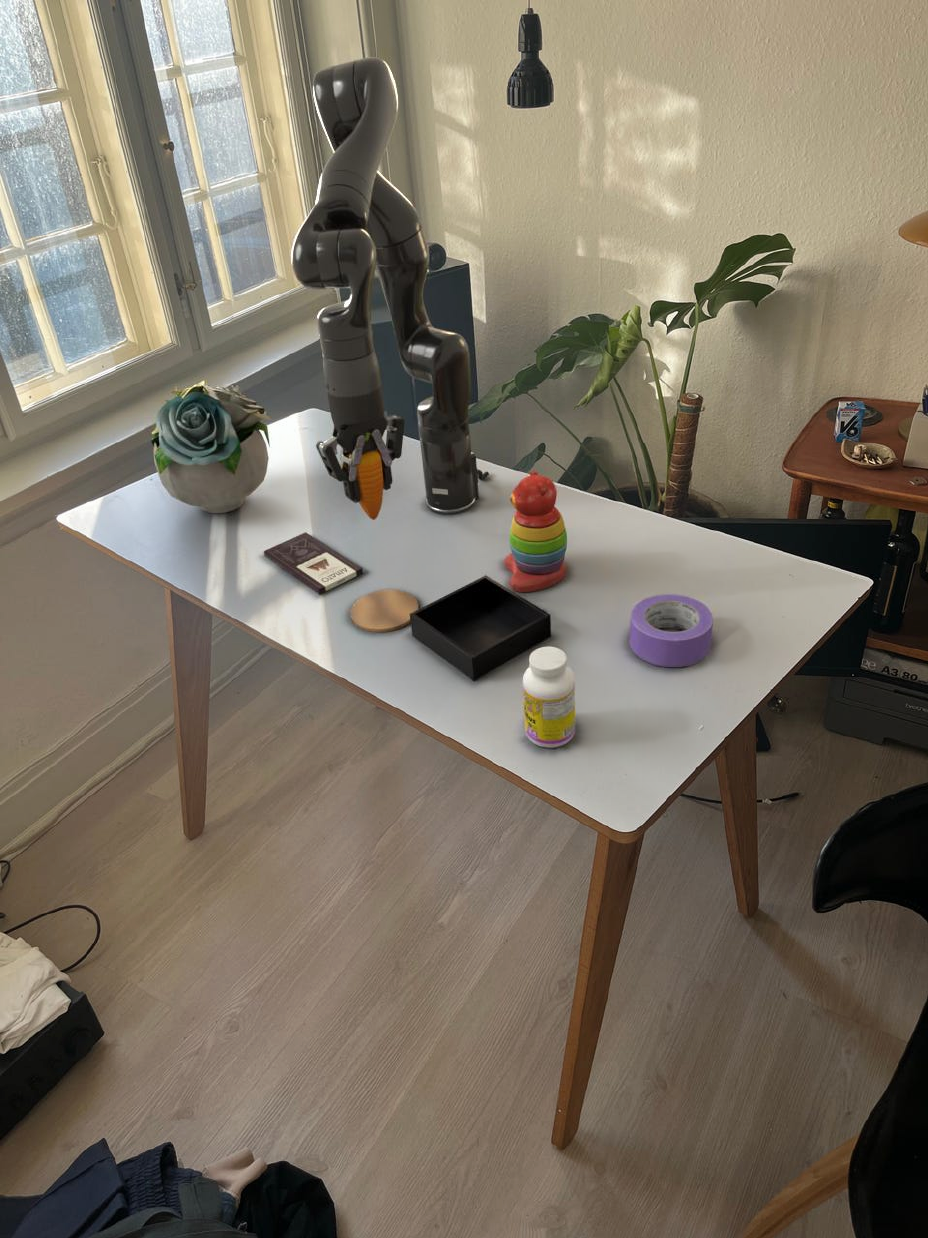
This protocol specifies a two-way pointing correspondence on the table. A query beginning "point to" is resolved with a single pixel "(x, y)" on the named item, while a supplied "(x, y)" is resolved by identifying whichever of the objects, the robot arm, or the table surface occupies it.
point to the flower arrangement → (211, 447)
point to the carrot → (370, 482)
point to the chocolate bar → (313, 562)
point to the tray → (480, 626)
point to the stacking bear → (536, 536)
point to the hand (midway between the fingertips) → (370, 493)
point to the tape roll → (671, 645)
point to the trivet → (383, 610)
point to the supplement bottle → (549, 698)
